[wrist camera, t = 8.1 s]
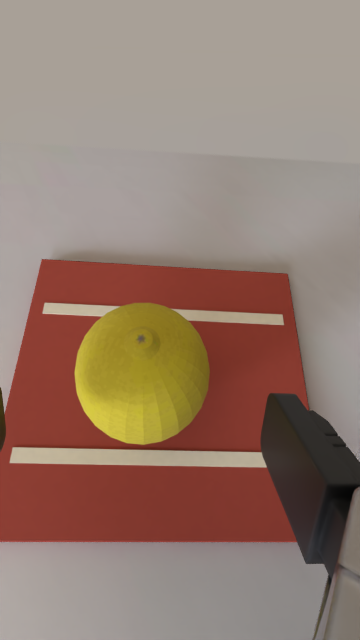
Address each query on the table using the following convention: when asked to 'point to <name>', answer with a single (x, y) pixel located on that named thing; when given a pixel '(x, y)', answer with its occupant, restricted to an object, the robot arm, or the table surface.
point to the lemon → (142, 373)
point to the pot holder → (161, 457)
